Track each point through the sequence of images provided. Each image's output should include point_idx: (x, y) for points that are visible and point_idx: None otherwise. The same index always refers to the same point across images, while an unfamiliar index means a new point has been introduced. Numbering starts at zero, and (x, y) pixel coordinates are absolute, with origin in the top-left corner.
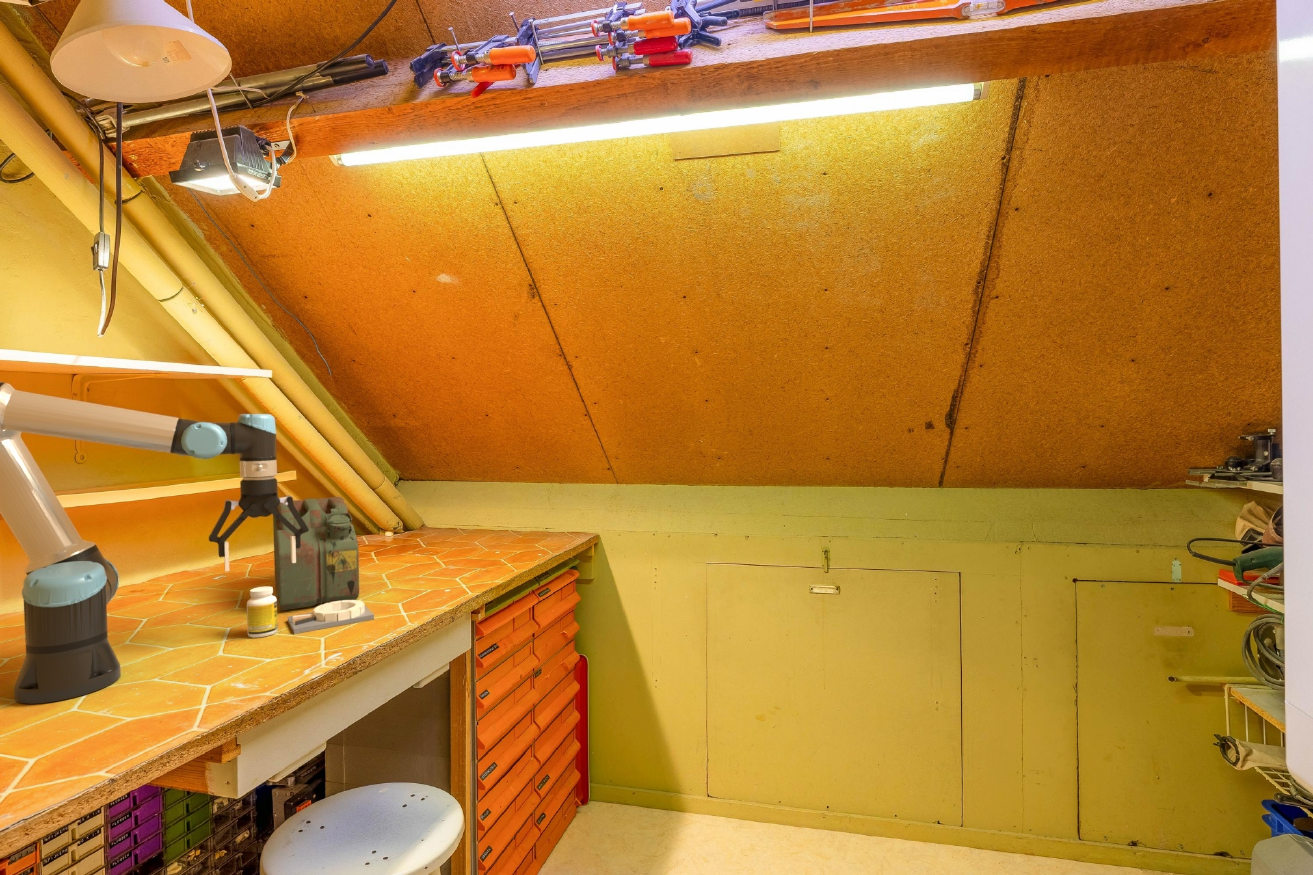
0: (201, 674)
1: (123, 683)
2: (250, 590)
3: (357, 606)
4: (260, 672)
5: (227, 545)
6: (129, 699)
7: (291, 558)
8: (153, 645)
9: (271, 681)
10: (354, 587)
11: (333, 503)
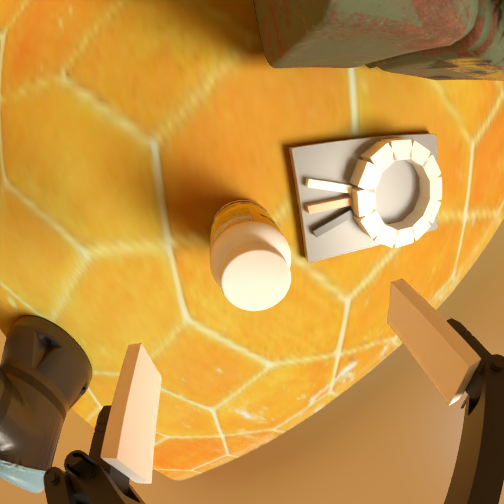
0: (188, 382)
1: (103, 372)
2: (223, 290)
3: (429, 215)
4: (262, 395)
5: (147, 473)
6: None
7: (397, 304)
8: (47, 218)
9: (276, 413)
10: (441, 78)
11: None
